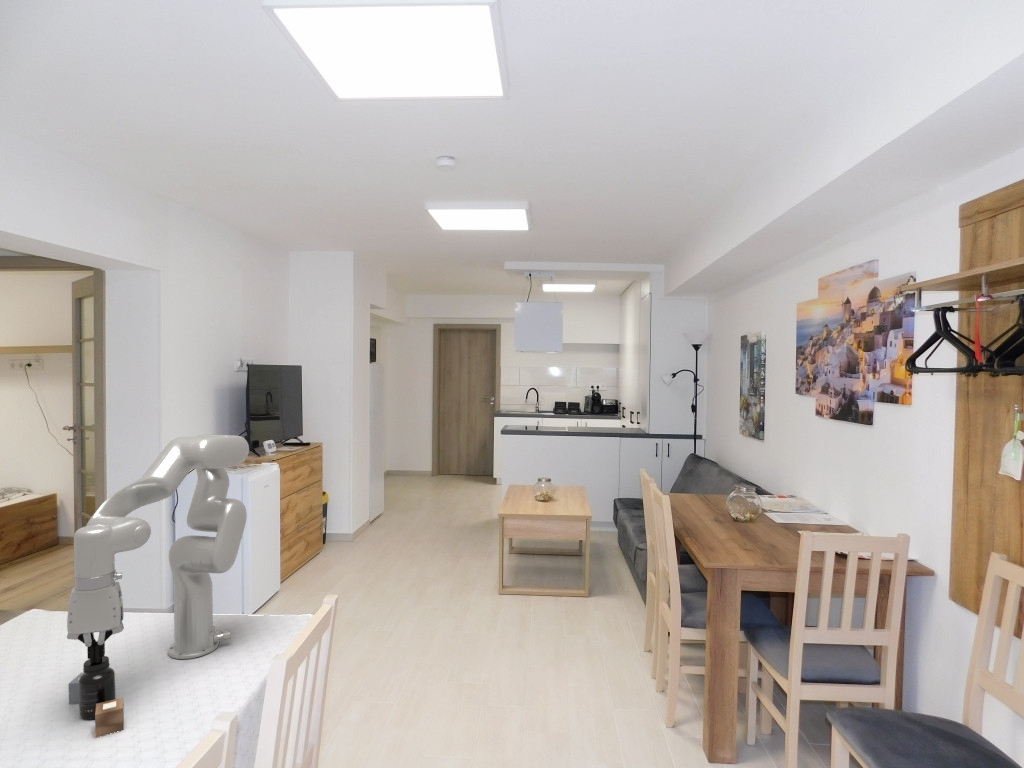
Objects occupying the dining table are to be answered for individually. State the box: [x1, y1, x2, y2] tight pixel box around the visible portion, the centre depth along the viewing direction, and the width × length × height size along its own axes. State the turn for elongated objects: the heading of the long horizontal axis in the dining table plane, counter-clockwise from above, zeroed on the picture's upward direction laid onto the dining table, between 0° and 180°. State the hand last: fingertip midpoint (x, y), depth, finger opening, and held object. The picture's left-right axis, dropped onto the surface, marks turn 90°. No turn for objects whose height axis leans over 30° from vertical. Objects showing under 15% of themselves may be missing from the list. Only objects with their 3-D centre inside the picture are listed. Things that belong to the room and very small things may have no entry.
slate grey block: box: [67, 672, 84, 705], centre depth 144 cm, size 5×5×5 cm
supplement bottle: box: [78, 655, 117, 721], centre depth 138 cm, size 7×7×12 cm
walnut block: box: [94, 697, 125, 738], centre depth 132 cm, size 5×5×5 cm
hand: (96, 660), depth 137 cm, fingers closed
